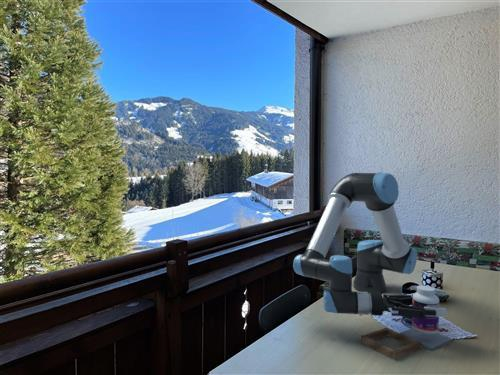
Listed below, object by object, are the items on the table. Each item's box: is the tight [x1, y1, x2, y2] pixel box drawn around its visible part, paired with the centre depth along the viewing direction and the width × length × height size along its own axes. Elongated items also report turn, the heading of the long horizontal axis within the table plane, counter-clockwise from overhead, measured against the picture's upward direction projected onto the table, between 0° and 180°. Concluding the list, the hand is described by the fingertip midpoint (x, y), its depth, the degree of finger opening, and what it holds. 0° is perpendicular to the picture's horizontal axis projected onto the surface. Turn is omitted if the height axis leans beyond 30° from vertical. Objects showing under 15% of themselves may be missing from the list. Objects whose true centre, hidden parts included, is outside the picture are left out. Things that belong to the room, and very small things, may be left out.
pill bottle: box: [411, 285, 440, 334], centre depth 119 cm, size 8×8×14 cm
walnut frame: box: [359, 327, 422, 361], centre depth 115 cm, size 13×13×2 cm
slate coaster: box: [400, 327, 454, 352], centre depth 119 cm, size 12×12×1 cm
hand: (440, 307), depth 118 cm, fingers closed on pill bottle, 8 cm apart
